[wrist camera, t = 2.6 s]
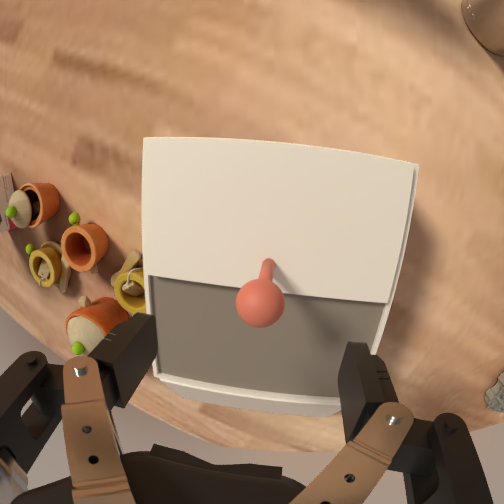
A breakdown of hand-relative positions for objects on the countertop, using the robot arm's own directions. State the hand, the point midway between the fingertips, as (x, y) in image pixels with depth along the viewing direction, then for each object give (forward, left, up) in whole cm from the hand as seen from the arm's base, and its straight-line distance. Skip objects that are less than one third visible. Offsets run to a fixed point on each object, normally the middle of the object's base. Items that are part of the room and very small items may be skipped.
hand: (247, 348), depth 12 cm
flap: (0, -8, -11) cm, 14 cm away
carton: (0, +3, -21) cm, 21 cm away
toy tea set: (+24, +7, -21) cm, 33 cm away
